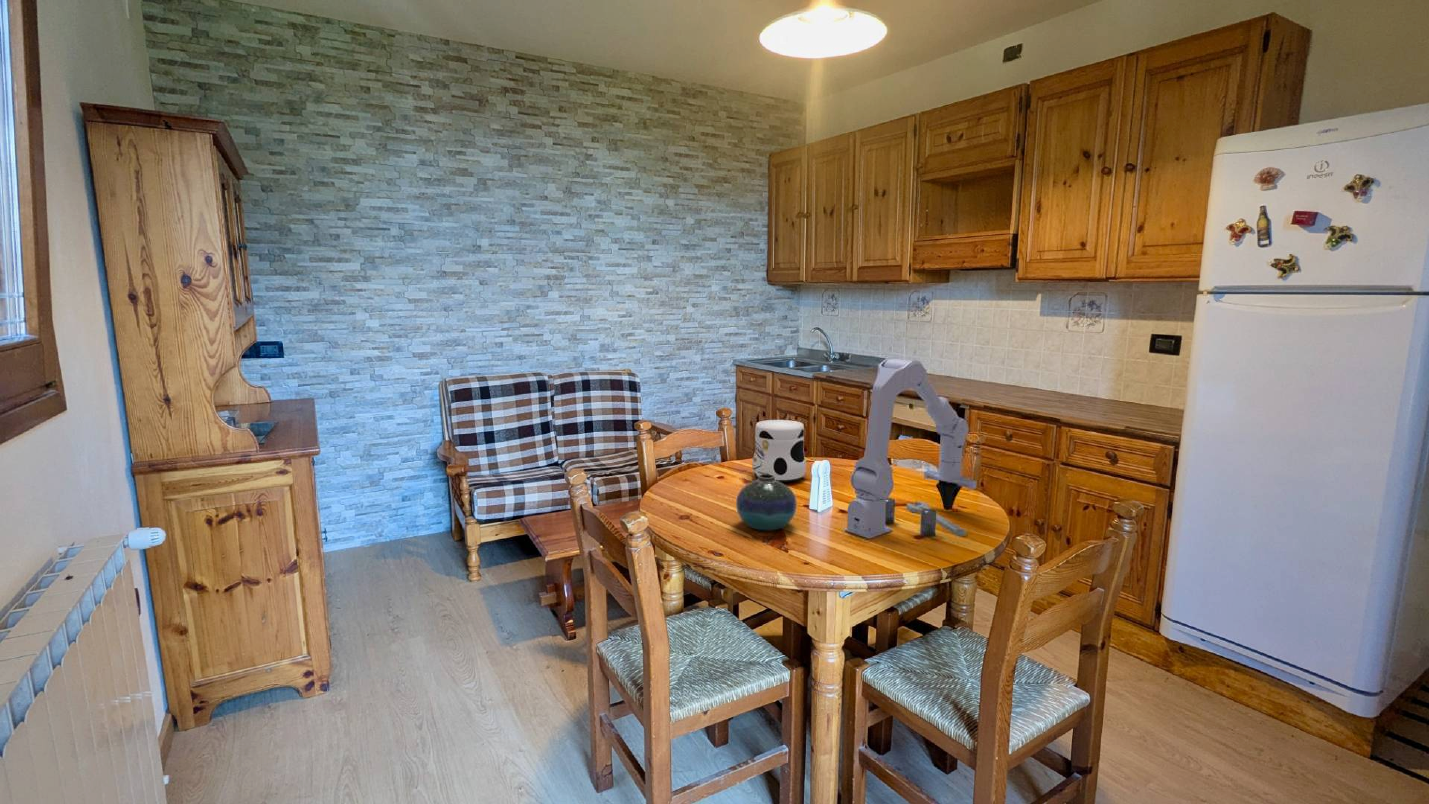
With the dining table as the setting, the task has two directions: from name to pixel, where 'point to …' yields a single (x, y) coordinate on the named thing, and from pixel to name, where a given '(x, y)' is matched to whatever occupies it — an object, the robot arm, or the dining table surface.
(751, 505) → the vase
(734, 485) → the dining table surface
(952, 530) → the adjustable wrench
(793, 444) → the milk container
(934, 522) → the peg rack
